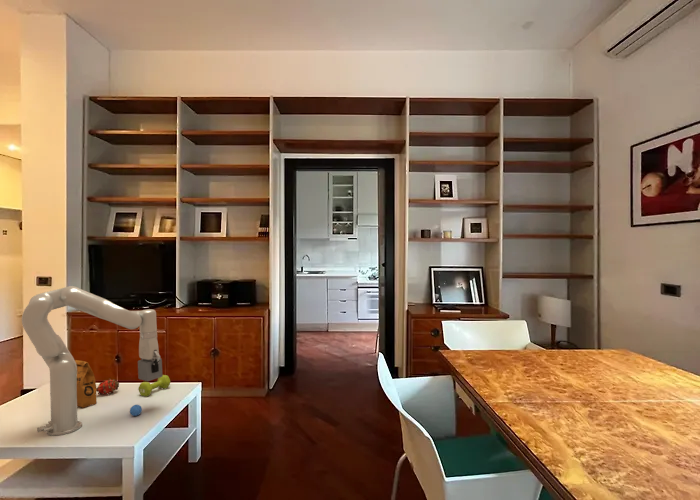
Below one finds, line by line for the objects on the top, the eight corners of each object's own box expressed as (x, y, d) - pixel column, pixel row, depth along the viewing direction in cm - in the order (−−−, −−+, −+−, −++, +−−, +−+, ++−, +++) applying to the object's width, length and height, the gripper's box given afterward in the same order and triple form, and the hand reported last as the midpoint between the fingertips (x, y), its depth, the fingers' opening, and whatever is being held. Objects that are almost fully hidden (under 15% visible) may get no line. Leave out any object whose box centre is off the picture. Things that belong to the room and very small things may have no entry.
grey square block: (147, 381, 196) (146, 363, 196) (138, 378, 200) (137, 360, 200) (162, 376, 202) (161, 358, 202) (153, 374, 207) (152, 356, 206)
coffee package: (79, 410, 201) (78, 365, 201) (66, 405, 208) (65, 361, 207) (100, 403, 210) (99, 360, 210) (87, 399, 216) (86, 357, 216)
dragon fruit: (121, 393, 228) (97, 403, 219) (115, 382, 232) (91, 391, 223) (122, 384, 223) (98, 393, 215) (116, 372, 227) (92, 381, 219)
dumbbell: (147, 398, 217) (147, 384, 217) (136, 396, 220) (136, 382, 220) (172, 388, 232) (171, 375, 232) (161, 386, 235) (161, 373, 235)
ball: (133, 418, 190) (133, 407, 190) (127, 416, 193) (127, 405, 193) (144, 414, 194) (143, 404, 194) (138, 412, 197) (138, 402, 197)
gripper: (131, 335, 202) (132, 370, 203) (151, 338, 193) (153, 375, 193) (145, 331, 209) (147, 366, 209) (166, 335, 199) (167, 371, 200)
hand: (150, 370), depth 201 cm, fingers closed on grey square block, 7 cm apart
